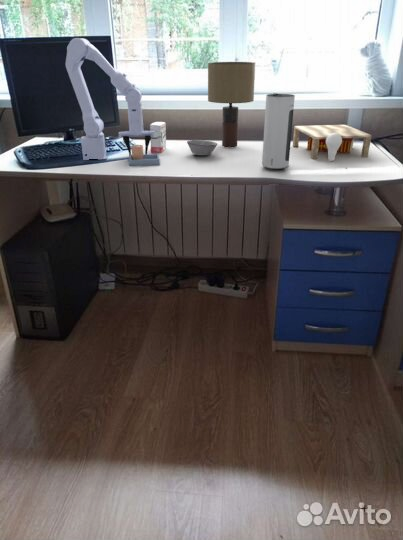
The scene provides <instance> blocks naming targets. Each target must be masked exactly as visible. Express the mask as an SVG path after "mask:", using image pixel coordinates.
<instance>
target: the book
mask: <svg viewBox="0 0 403 540" xmlns="http://www.w3.org/2000/svg"><path fill="white" fill-rule="evenodd" d="M312 141H313V138H312V137H310V136H309V138H308V140H307V147H306V149H307V150H308V149H311V150H312ZM354 142H355V138H342V143H341V145H340V147H339V148H338V150H337V151H338V152H337V153H344V152H349V153H348V154H350V153H351V151H352V150H351V149H353V148H352V147H354ZM311 150H310V151H311ZM320 150H323V152H328V148H327V145H326V139H319V146H318V151H320Z"/></svg>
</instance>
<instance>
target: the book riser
mask: <svg viewBox="0 0 403 540" xmlns="http://www.w3.org/2000/svg"><path fill="white" fill-rule="evenodd" d="M293 128H294V129H293V139H292V146H293V147H294V146H298V147H299V141H300V132H301V133H302V134H305V135H307V136H308V137H309V138H310V137H312V138H313V141H312V150H310V151H311V152H310V158H311V160H317V159H318V154H319V150H318V146H319V139H326V138H327V137H328V136H329V135H330V134H332V133H337V134H339V135H340V136H341V138H354V139H356V138H359V139H360V138H363V144H362V147H361V154H360V156H361V157H362V158H368V157H369V151H370V147H371V142H372V141H371V140H372V134H370V133H367V132H365V131H362V130H360V129H357V128H354V127H353V126H350V125H347V124H321V125H320V124H319V125H314V124H313V125H294V127H293Z"/></svg>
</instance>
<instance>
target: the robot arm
mask: <svg viewBox="0 0 403 540" xmlns="http://www.w3.org/2000/svg"><path fill="white" fill-rule="evenodd" d="M85 60H89V61H92V62H95V64H96V65H97V66H99V67H100V69H101V70H103V71H104V73H105V74H106V75H107V76H109V77H110V83H111V84H112V85H113V87H115V88H116V90H117V91H118V92H119V93H120V94H121V95H122V96H124V99H125V101H126V104H127V118H128V119H127V120H128V129H129V130H126V131H119V132H118V138H122V140H123V142H124V144H125V146H126V149H127V152H128V156H129V155H132V149H131V143H130V142H131V141H130V138H131V137H132V138H134V137H137V138H138V137H144V144H145V148H144V152H145V153H144V155H145V154H148V150H149V145H150V143H151V136H152V137H153V136H155V134H154V131H150V130H144V122H143V121H144V119H143V116H144V115H143V108H142V105H143V104H142V101H141V100H142V92H141V90H140V88H139V87H136V84H135V83H132V82H131V81H130V79H128V77H127V73H125V72H124V73H123V71H117V70H116V69H115V68H114V67H113V66H112V64H111V63H110V62H109V61H108V60H107V59H106V57H105V56H104V55H103V54H102V53H101V51H100V50H99V49H98V48H97V47H95V46H94V45H93V44H92V43H91V42H90V41H89V40H88V39H87V38H83V37H82V38H81V37H74V38H72V39H70V41H69V43H68V45H67V47H66V57H65V63H64V64H65V68H66V71H67V73H68V77H69V80H70V82H71V84H72V88H73V91H74V93H75V96H76V100H77V101H78V104H79V107H80V109H81V113H82V122H83V131H84V132H85V136H81V137H80V145H81V151H82V152H81V153H82V158H83V159H82V160H83V161H90V160H89V159H98V160H107V159H108V156H107V157H106V154H107V151H106V142H105V141H106V140H105V134H104V133H103V130H104V129H105V127H104V126H105V124H104V121H103V120H102V119H101V118H100V116H99V113H98V112H97V110H96V109H95V107H94V106H95V105H94V104H93V100H92V98H91V95H90V92H89V89H88V86H87V82H86V80H85V78H84V75H83V72H82V68H81V66H82V65H83V63H84V62H85ZM86 154H87V156H85V155H86Z"/></svg>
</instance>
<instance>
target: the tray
mask: <svg viewBox="0 0 403 540" xmlns="http://www.w3.org/2000/svg"><path fill="white" fill-rule="evenodd" d="M128 156H129V157H128V166H129V167H134V166H135V167H137V166H138V167H139V166H161V164H160V163H161V161H160V153H154V154H153V153H152V154H151V153H149V154H148V153H147V154H145V153H144V159H140V160H132V154H131V155H129V154H128Z"/></svg>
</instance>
